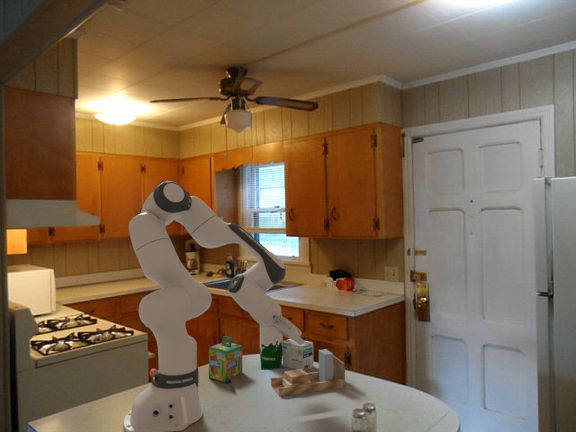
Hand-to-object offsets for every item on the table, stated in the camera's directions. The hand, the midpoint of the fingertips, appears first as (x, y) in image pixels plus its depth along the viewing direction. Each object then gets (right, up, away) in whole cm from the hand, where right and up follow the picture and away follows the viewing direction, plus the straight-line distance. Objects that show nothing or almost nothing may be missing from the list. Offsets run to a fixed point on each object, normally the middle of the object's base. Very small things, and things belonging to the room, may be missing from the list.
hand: (295, 339), depth 147 cm
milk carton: (-9, -18, +25) cm, 32 cm away
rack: (+4, -18, +2) cm, 18 cm away
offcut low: (+1, -17, +1) cm, 17 cm away
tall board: (+11, -17, +4) cm, 20 cm away
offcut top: (0, -14, +1) cm, 14 cm away
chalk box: (-25, -18, +15) cm, 35 cm away
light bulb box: (+1, -18, +22) cm, 29 cm away
